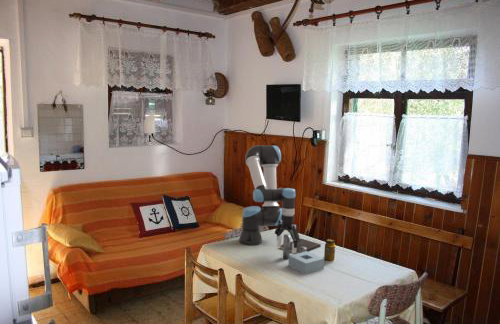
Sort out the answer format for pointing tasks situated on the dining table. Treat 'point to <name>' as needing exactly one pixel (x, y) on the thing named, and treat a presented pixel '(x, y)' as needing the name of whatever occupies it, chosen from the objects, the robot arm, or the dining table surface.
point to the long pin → (286, 246)
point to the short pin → (303, 249)
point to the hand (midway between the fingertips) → (286, 249)
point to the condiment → (329, 251)
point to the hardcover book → (304, 245)
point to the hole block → (306, 262)
